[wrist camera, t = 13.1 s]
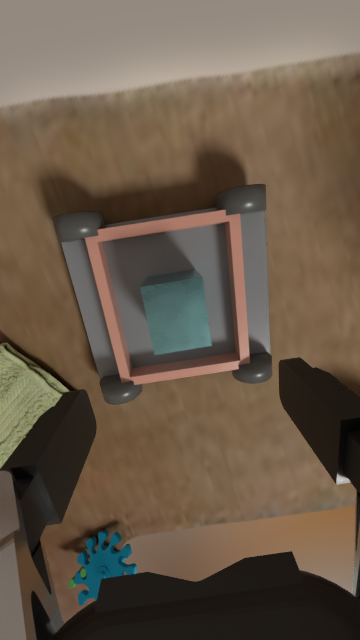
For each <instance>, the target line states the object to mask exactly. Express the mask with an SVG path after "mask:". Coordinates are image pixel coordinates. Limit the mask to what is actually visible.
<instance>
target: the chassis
mask: <svg viewBox="0 0 360 640" xmlns="http://www.w3.org/2000/svg"><path fill="white" fill-rule="evenodd" d="M216 202H217V207H216V208H209V209H203V210H196V211H190V212H184V213H177V214H171V215H165V216H158V217H152V218H145V219H139V220H133V221H126V222H120V223H114V224H107V225H105V221H104V217H103V213H102V212H96V211H87V212H75V213H68V214H62V215H58V216H55V217H53V218H52V220H53V223H54V227H55V230H56V234H57V237H58V241H59V242H61V244H62V248H63V251H64V255H65V258H66V262H67V265H68V269H69V272H70V276H71V279H72V283H73V286H74V290H75V293H76V297H77V300H78V304H79V307H80V311H81V314H82V318H83V321H84V325H85V328H86V332H87V335H88V339H89V342H90V346H91V349H92V353H93V356H94V360H95V363H96V367H97V370H98V374H99V377H100V386H101V390H102V393H103V397H104V400H105V402H107V403H109V404H113V405H117V404H123V403H127V402H129V401H131V400H133V399H135V398H136V397H137V396H138V395H139V394H140V393H141V391H142V384H144V383H151V382H157V381H164V380H171V379H177V378H184V377H190V376H197V375H203V374H210V373H216V372H223V371H229V370H232V374H233V376H234V378H235V379H237V380H239V381H241V382H244V383H252V384H254V383H261V382H265V381H267V380H268V379H270V378H271V376H272V357H271V355H270V330H269V303H268V276H267V249H266V222H265V210H266V185H265V184H253V185H246V186H240V187H236V188H232V189H228V190H225V191H222V192H220V193H218V194H216ZM192 269H196V270H197V272H198V273H199V274H200V275H201V276H202V277H203V283H204V291H205V298H206V306H207V314H208V321H209V329H210V337H211V344H212V346H207V347H201V348H195V349H189V350H183V351H177V352H171V353H165V354H159V355H154V350H153V345H152V341H151V336H150V331H149V327H148V322H147V317H146V312H145V308H144V303H143V298H142V294H141V289H140V287H141V285H142V284H143V282H144V281H145V279H146V278H147V277H150V276H156V275H162V274H168V273H174V272H180V271H186V270H192Z"/></svg>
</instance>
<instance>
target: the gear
mask: <svg viewBox="0 0 360 640" xmlns="http://www.w3.org/2000/svg"><path fill="white" fill-rule="evenodd" d="M108 535H109V533H108V531H106V530H102V531H100V532H99V534H98V539H99V546H98V550H97V552H96V551H95V544H96V537H92V538H90V539H89V540H87V541H86V546H87V548H88V550H89V553H90V562H89V561H88V554H87V551H86V550H84V551H83V552H81V553H80V555H79V556H78V558H77V562H78V563H79V564H81V565H83V566H82V567H81V569H80V570H79V571H78V572H77V573H76V575H75V576H74V577H73V578H71V579H70V580H69V583H68V585H69V588H73V587H74V586H75V585H77V584H80V583H83V584H85V585H86V586H88V588H89V592H88V591H87V590H83V591H82V592H80V593H79V594H78V601H79V605H83V604H84V603H85V602H86V601H87V600H88V599H89V598H95V600H97V597H98V592H99V587H100V582H101V579H103V578H110V577H117V576H124V571H125V572H126V573H127V575H131V574H136V570H137V569H136V568H137V565H136V564H130V565H127V564H125V563H123V562H124V561H125V558H128V557H129V556H130V555H131V553H132V552H131V547H130V544H127V545H126V546H124V547H123V549H122V550H121V551H117V552H116V551H115V550H114V548H113V546H114V545H116V544H118V543H119V542H120V541H121V539H122V537H121V535H120V534H119V533H118V532H116V533H114V534H113V535H112V537H111V542H110V544H109V546H108V547H107V548H106V547H105V546H104V541H105V540H106V539H107V538H108Z"/></svg>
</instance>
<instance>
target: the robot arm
mask: <svg viewBox="0 0 360 640" xmlns="http://www.w3.org/2000/svg"><path fill="white" fill-rule="evenodd" d="M279 394H280V399H281V403H282V405H283V407H284V409H285V411H286V412H287V413H288V415H289V416H290V418H291V419H292V421H293V422H294V424H295V425H296V426H297V428H298V429H299V431H300V432H301V434H302V435H303V437H304V438H305V440H306V441H307V442H308V444H309V445H310V447H311V448H312V450H313V451H314V453H315V454H316V456H317V457H318V458H319V460H320V461H321V463H322V464H323V466H324V467H325V469H326V470H327V471H328V473H329V474H330V476H331V477H332V479H333V480H334V482H335V483H336V484H343V483H350V482H351V483H352V484H353V486H354V487H355V488H356V505H355V508H356V509H355V548H354V574H353V590H352V594H351V593H350V592H348V591H347V590H345V589H343V588H342V587H340V586H338V585H337V584H335V583H333V582H331V581H328V580H327V579H324V578H322V577H321V576H317V575H315V574H311V573H309V572H305V571H300V570H299V568H298V566H297V563H296V561H295V558H294V556H293V553H292V551H291V552H284V553H277V554H270V555H263V556H256V557H249V558H244V559H242V560H240V561H238V562H236V563H234V564H232V565H231V566H229V567H227V568H225V569H223V570H221V571H219V572H217V573H215V574H213V575H211V576H209V577H207V578H206V579H204V580H201V581H198V582H193V581H187V580H183V579H178V578H174V577H169V576H164V575H159V574H155V573H150V572H145V573H138V574H131V575H124V576H117V577H110V578H103V579H101V582H100V587H99V592H98V597H97V600H96V601H94V602H92V603H91V604H89V605H88V606H86V607H85V608H83V609H82V610H80V611H79V612H78V613H77V614H75V615H74V616H73V617H72V618H71V619H69V620H68V621H67V622H66V623H64V621H63V618H62V615H61V612H60V609H59V606H58V602H57V598H56V594H55V590H54V585H53V581H52V577H51V572H50V568H49V564H48V559H47V555H46V551H45V546H44V542H43V540H42V538H41V535H42V533H43V530H44V528H45V526H46V525H52V524H59V523H61V522H62V520H63V517H64V515H65V512H66V510H67V507H68V505H69V502H70V499H71V497H72V494H73V492H74V489H75V487H76V484H77V481H78V479H79V476H80V474H81V471H82V469H83V466H84V464H85V461H86V458H87V456H88V453H89V451H90V448H91V446H92V443H93V441H94V438H95V435H96V420H95V416H94V413H93V410H92V407H91V403H90V400H89V397H88V394H87V392H86V390H84V389H82V390H76V391H69V392H65V393H63V395H62V396H61V397H60V399H59V400H58V402H57V403H56V404H55V406H52V407H51V408H50V409H48V410H47V411H46V412H45V413H43V414H42V415H41V416H40V417H39V418H38V420H37V421H36V422H35V424H34V425H33V426H32V429H30V430H29V432H28V433H27V434H26V437H25V438H23V439H22V441H21V442H20V443H19V445H18V446H17V447H16V449H15V450H14V451H13V453H12V454H11V455H10V457H9V458H8V459H7V461H6V462H5V463H4V465H3V466H2V467H1V469H0V640H360V398H359V397H358V396H357V395H356V394H354V393H353V392H352V391H351V390H348V388H347V387H346V386H345V385H343V384H342V383H340V381H338V380H337V379H336V378H335V377H334V376H332V375H331V374H330V373H328V372H325V371H323V370H321V369H319V368H312V367H311V366H310V365H308V364H307V363H306V362H305V361H304V360H303V359H301V358H300V357H298V358H291V359H285V360H280V362H279Z"/></svg>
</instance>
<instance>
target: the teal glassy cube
mask: <svg viewBox="0 0 360 640" xmlns="http://www.w3.org/2000/svg"><path fill="white" fill-rule="evenodd" d="M140 289H141V294H142V298H143V303H144V308H145V312H146V317H147V322H148V327H149V331H150V336H151V341H152V345H153V350H154V355H159V354H165V353H171V352H177V351H183V350H189V349H195V348H201V347H207V346H212V344H211V337H210V329H209V321H208V314H207V306H206V298H205V291H204V283H203V277H202V276H201V275H200V274H199V273H198V272H197V270H196V269H192V270H186V271H180V272H174V273H168V274H162V275H156V276H150V277H147V278H146V279H145V281H144V282H143V284H142V285H141V287H140Z"/></svg>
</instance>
